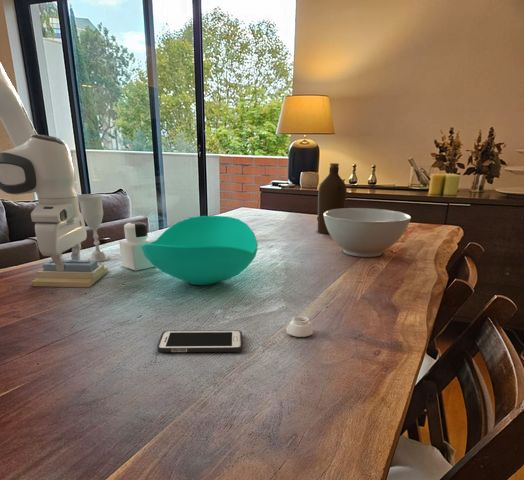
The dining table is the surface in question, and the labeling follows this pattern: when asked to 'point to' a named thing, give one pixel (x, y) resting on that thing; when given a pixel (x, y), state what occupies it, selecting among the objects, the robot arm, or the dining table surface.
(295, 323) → the lidless jar
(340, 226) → the decorative bowl
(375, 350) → the dining table surface
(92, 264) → the blue pad
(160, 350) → the cell phone
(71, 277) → the base pad
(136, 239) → the medicine bottle
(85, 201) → the chalice
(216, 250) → the table top decor
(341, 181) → the olive oil
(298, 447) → the dining table surface
